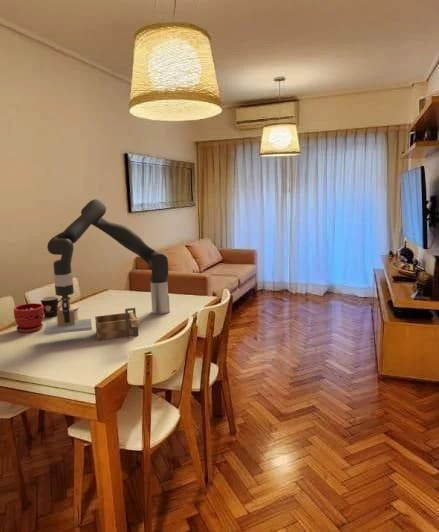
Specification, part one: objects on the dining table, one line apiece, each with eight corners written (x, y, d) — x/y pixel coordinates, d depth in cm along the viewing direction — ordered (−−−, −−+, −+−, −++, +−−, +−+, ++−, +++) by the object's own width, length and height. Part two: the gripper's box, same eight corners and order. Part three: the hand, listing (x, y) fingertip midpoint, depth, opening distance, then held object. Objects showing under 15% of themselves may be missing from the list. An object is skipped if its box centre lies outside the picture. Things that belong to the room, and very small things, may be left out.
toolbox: (134, 327, 190) (133, 301, 188) (138, 336, 178) (137, 308, 176) (96, 332, 184) (94, 305, 182) (97, 342, 172) (95, 312, 170)
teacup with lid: (69, 321, 202) (67, 300, 200) (83, 323, 198) (81, 301, 196) (51, 329, 191) (49, 306, 189) (65, 331, 188) (63, 307, 186)
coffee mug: (38, 317, 211) (37, 299, 209) (50, 313, 219) (49, 295, 217) (55, 319, 207) (53, 301, 205) (67, 314, 214) (65, 297, 213)
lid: (90, 321, 183) (90, 306, 182) (91, 330, 171) (91, 313, 170) (46, 325, 177) (45, 309, 176) (44, 334, 165) (43, 317, 163)
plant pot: (18, 336, 182) (15, 311, 180) (14, 329, 193) (11, 305, 190) (48, 330, 190) (45, 306, 188) (42, 323, 200) (39, 301, 198)
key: (134, 317, 174) (134, 311, 174) (138, 326, 162) (138, 319, 162) (128, 318, 173) (127, 312, 173) (131, 327, 161) (131, 320, 161)
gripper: (55, 281, 177) (59, 318, 180) (53, 287, 164) (57, 327, 167) (73, 279, 179) (76, 316, 182) (72, 286, 166) (76, 324, 169)
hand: (67, 321), depth 174 cm, fingers closed on lid, 3 cm apart
